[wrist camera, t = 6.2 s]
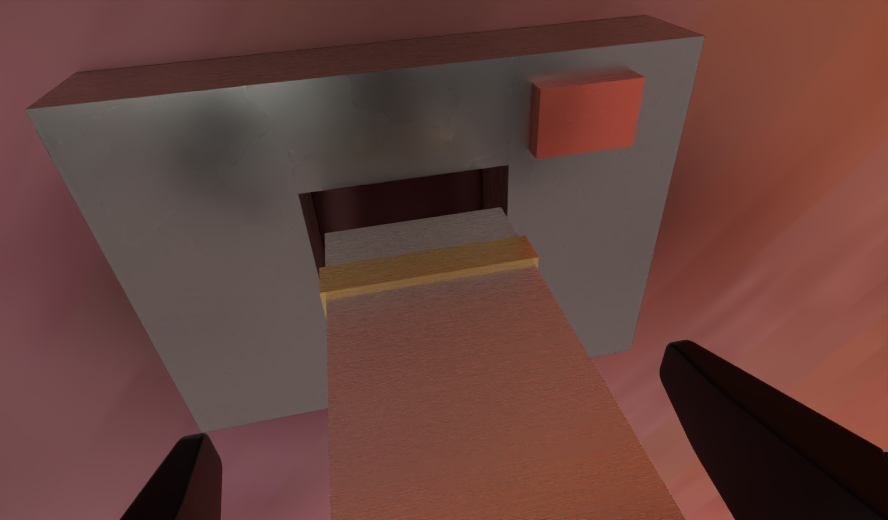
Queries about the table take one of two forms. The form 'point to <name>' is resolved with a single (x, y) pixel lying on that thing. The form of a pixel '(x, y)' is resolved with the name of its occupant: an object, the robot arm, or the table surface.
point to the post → (467, 385)
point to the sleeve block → (364, 182)
